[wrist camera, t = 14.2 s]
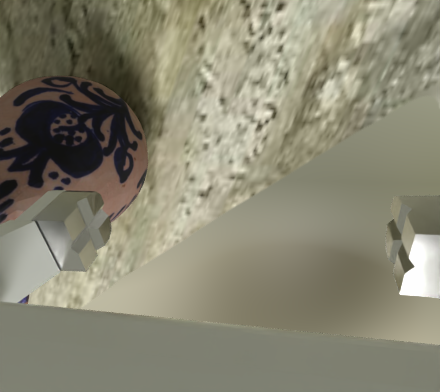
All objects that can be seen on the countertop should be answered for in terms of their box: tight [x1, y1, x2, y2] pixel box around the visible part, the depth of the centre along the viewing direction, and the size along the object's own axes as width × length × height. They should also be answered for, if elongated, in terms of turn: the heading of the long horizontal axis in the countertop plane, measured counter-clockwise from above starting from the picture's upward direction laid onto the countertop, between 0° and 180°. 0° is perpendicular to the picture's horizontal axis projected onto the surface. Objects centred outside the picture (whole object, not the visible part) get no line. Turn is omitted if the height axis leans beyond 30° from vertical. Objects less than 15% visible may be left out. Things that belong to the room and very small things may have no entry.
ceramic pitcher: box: [0, 76, 148, 304], centre depth 36 cm, size 18×21×25 cm
